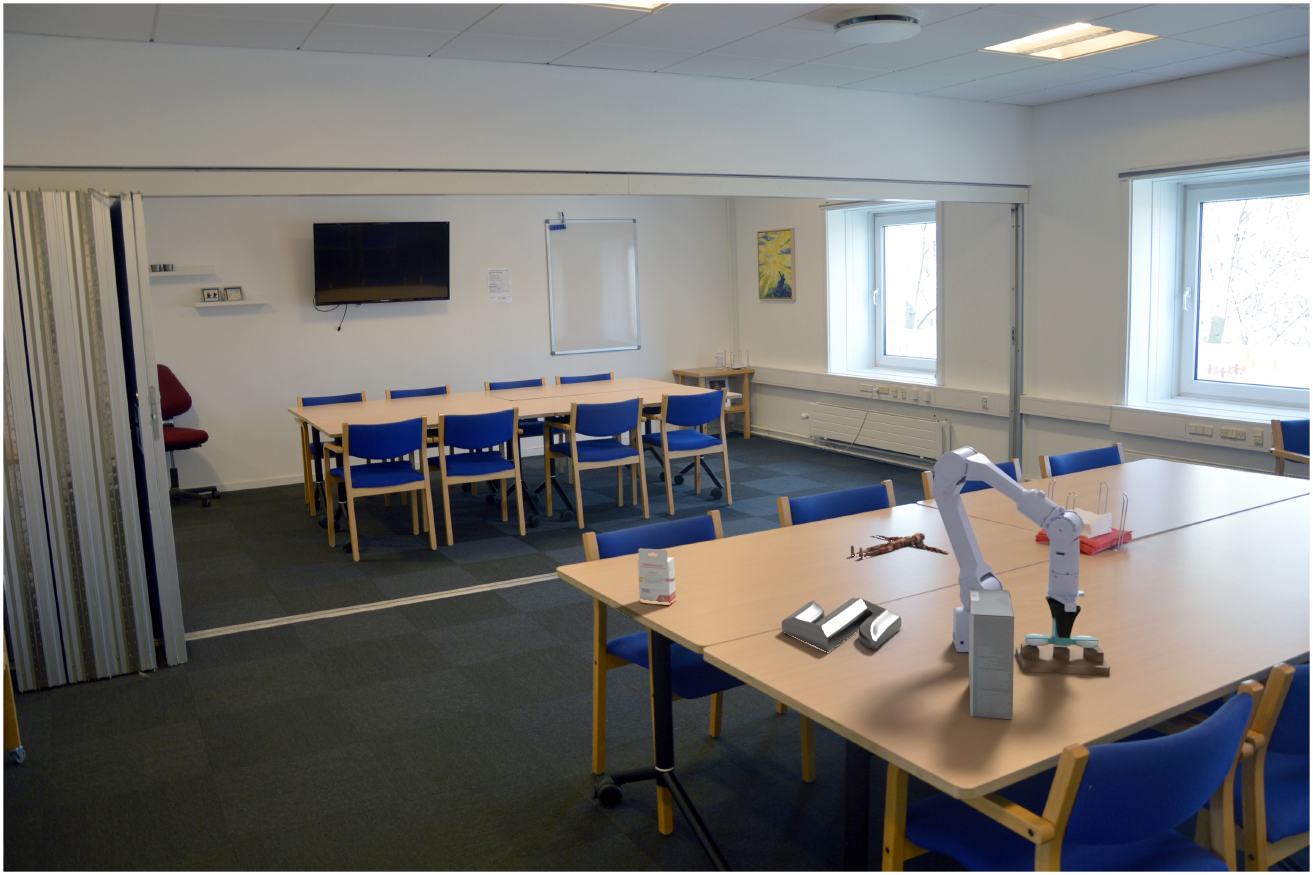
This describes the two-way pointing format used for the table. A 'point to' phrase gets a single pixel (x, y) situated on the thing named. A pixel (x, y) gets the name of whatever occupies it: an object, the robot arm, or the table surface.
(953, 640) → the robot arm
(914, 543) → the mannequin
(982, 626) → the hard drive box
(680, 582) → the table surface
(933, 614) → the table surface
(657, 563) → the ink cartridge box
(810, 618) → the emblem
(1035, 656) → the display stand
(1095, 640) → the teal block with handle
